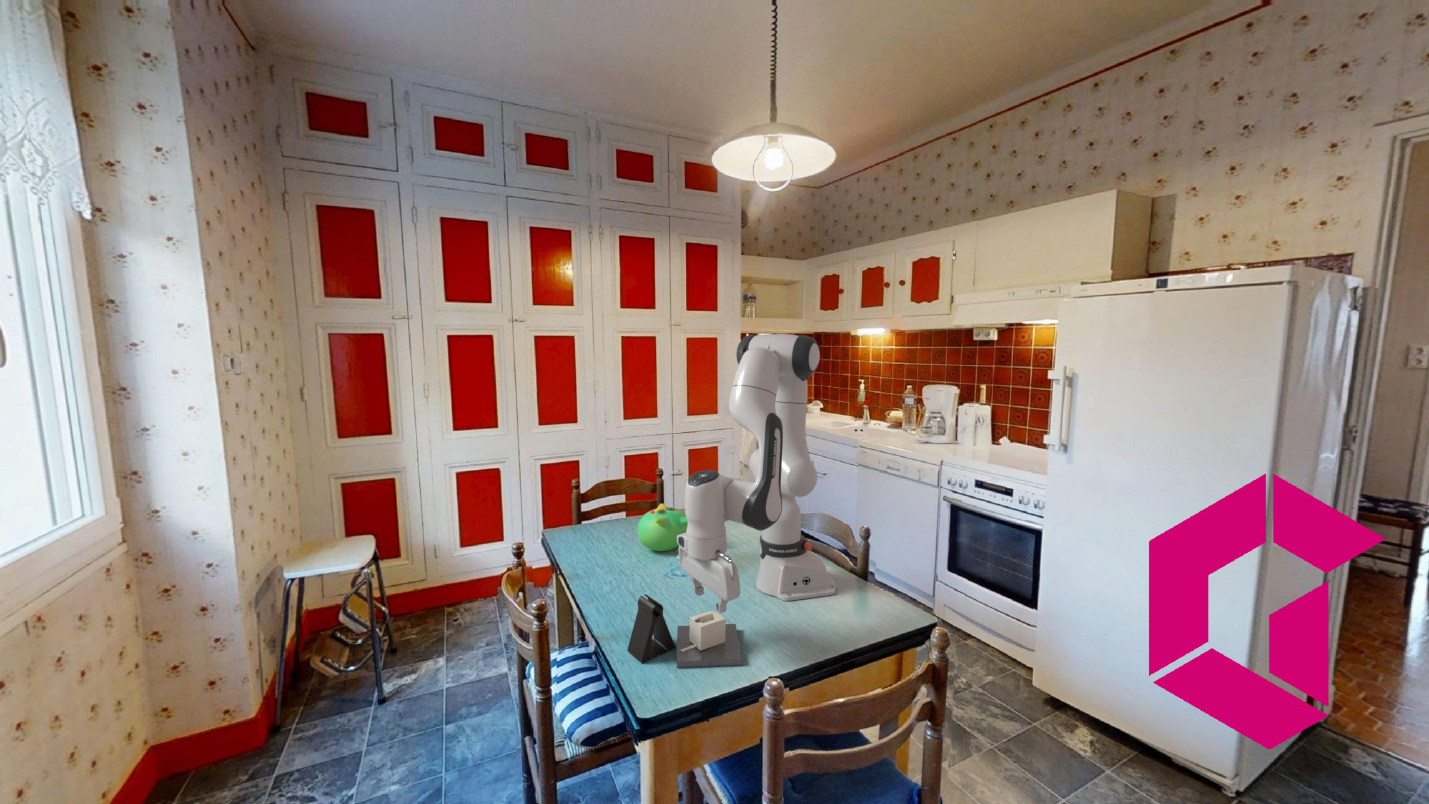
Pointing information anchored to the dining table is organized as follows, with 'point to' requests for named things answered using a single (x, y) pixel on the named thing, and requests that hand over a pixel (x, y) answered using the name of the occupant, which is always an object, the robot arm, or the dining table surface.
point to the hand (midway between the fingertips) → (710, 602)
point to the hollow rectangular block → (707, 630)
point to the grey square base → (708, 650)
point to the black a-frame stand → (649, 631)
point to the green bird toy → (662, 528)
